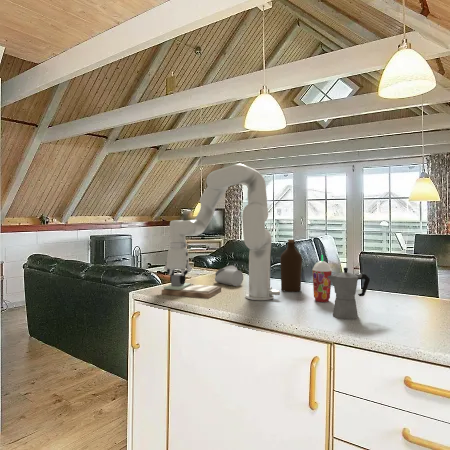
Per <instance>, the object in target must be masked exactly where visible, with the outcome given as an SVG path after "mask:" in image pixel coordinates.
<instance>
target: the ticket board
mask: <svg viewBox="0 0 450 450" xmlns="http://www.w3.org/2000/svg"><path fill="white" fill-rule="evenodd" d="M221 292H222V286H219V285H205V284H194V283H191V285H189V286H187V287H185V288H183V289H180V290H173V289H164V288H163V289H161V295H166V296H176V297H177V296H180V297H190V298H191V297H193V298H207V299H210V298H212V297H214V296H216V295H217V294H219V293H221Z"/></svg>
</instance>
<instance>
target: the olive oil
mask: <svg viewBox="0 0 450 450" xmlns="http://www.w3.org/2000/svg"><path fill="white" fill-rule="evenodd" d="M295 241H296V240H295V239H287V248H286V249H284V251H283V252H282V253H281V254H280V259H279V261H280V262H279V263H280V281H281V282H280V283H281V284H280V285H281V287H280V288H281V289H280V290H281V291H282V292H286V293H299V292H301V289H302V286H301V285H302V271H303V270H302V268H303V258H302V257H303V256H302V254H301V253H300V252H299V251H298V250H297V248H296V245H295Z"/></svg>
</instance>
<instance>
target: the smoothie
mask: <svg viewBox="0 0 450 450" xmlns="http://www.w3.org/2000/svg"><path fill="white" fill-rule="evenodd" d="M320 256H321V257H320V258H321V260H320V261H317V262H316V263H315V264H314V265H313V267H312V269H311V270H312V286H313V289H312V290H313V298H314V300H315V301H316V302H318V303H328V302H329V300H330V298H331V288H332V282H331V281H330V279H329V278H327V277H328V276H330V275H333V273H332V272H333V269H332V267H331V265H330V264H329V263H328V262H327V261H325V260H324V255H323V254H321V255H320Z"/></svg>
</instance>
